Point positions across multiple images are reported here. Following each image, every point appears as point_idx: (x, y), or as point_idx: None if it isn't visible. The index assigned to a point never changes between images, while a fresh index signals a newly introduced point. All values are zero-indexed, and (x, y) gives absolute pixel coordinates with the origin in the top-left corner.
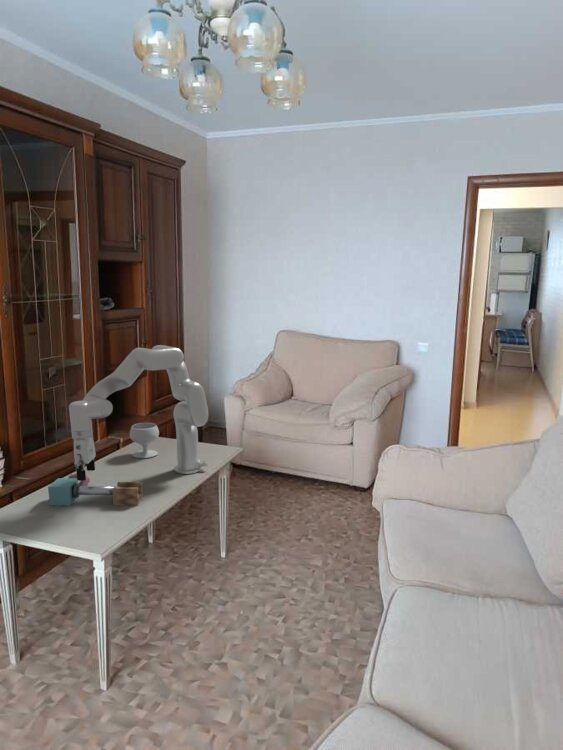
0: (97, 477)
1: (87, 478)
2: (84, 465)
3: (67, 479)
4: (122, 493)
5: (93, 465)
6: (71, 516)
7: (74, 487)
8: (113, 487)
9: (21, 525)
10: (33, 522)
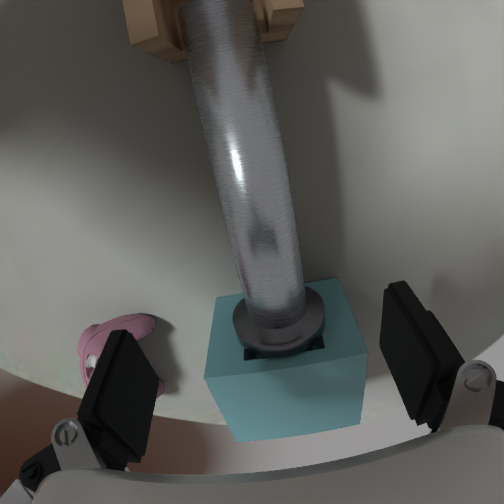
0: (25, 320)
1: (93, 343)
2: (448, 427)
3: (241, 411)
4: None
5: (115, 375)
6: (445, 206)
7: (315, 333)
8: (280, 7)
9: (481, 329)
10: (471, 312)
